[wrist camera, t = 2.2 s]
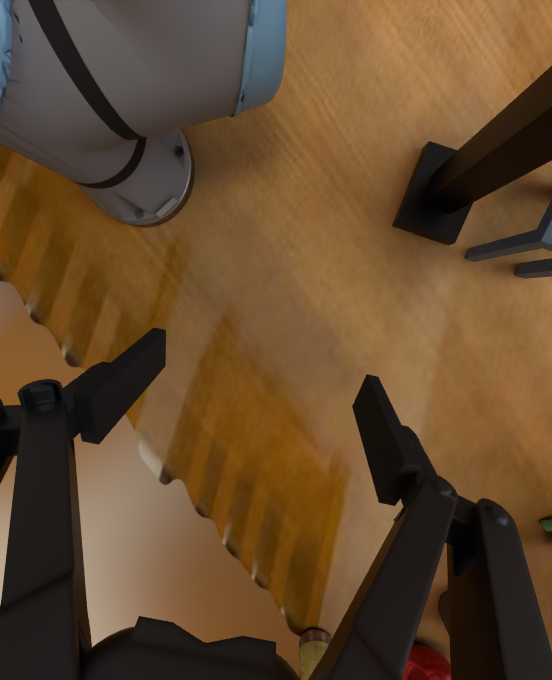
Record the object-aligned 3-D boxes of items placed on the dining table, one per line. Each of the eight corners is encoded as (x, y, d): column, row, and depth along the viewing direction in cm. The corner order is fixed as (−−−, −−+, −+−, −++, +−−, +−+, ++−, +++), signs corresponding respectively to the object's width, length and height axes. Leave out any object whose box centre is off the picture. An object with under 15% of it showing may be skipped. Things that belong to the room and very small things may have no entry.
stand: (442, 259, 35) (906, 140, 9) (386, 240, 36) (671, 63, 9) (490, 151, 33) (1353, -496, 6) (429, 131, 33) (1017, -593, 6)
